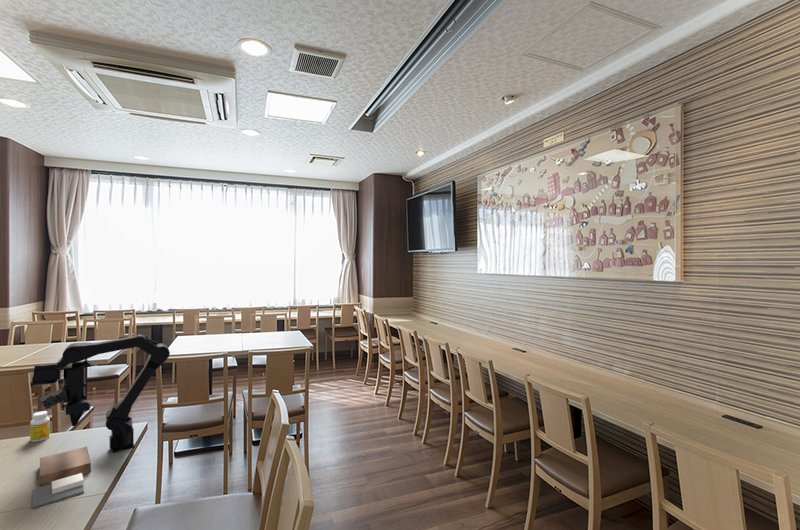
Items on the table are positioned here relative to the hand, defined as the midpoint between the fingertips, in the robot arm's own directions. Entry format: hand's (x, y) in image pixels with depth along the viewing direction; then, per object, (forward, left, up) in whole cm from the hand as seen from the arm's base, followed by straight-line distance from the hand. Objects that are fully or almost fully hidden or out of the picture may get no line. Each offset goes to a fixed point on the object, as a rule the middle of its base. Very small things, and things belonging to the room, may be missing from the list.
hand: (74, 425), depth 132 cm
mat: (+5, +22, -11) cm, 25 cm away
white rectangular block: (+2, +21, -9) cm, 23 cm away
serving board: (+3, +8, -11) cm, 14 cm away
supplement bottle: (+9, -25, -11) cm, 29 cm away
